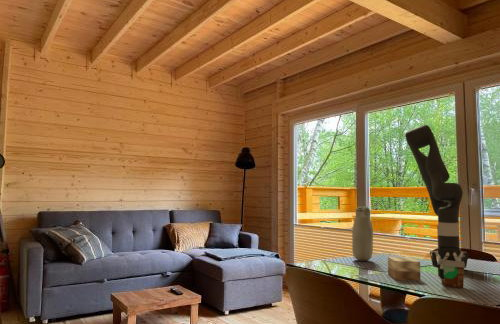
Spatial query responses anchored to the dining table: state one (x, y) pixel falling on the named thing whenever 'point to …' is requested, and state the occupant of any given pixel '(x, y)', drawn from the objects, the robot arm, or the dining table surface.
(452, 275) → the food container
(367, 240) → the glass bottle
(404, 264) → the birch slab
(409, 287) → the dining table surface
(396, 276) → the walnut slab
